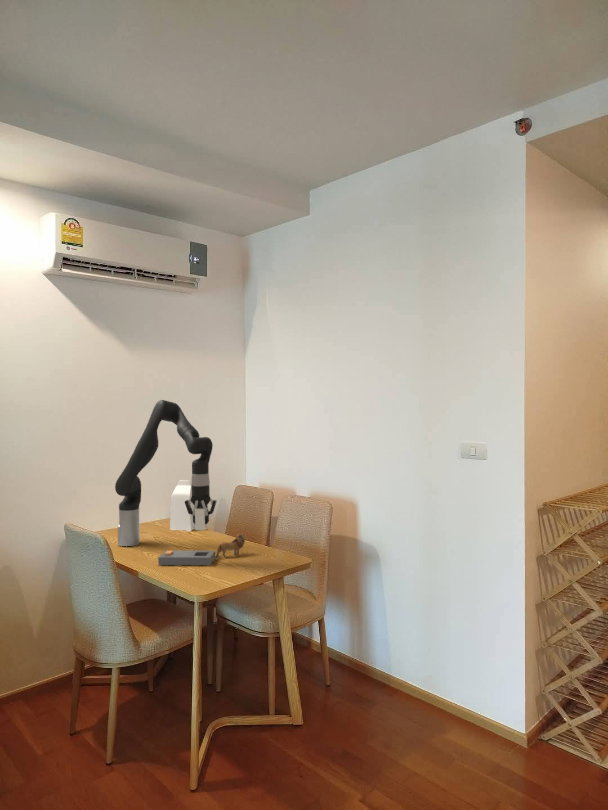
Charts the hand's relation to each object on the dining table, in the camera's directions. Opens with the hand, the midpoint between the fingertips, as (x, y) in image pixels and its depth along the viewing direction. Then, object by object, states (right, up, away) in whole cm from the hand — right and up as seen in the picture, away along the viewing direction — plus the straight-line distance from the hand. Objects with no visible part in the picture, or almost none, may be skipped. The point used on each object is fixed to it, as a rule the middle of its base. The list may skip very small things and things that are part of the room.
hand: (201, 523), depth 230 cm
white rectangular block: (0, -2, 0) cm, 2 cm away
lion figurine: (+12, -17, +9) cm, 22 cm away
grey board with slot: (-6, -17, 0) cm, 18 cm away
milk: (-20, -16, +60) cm, 65 cm away
